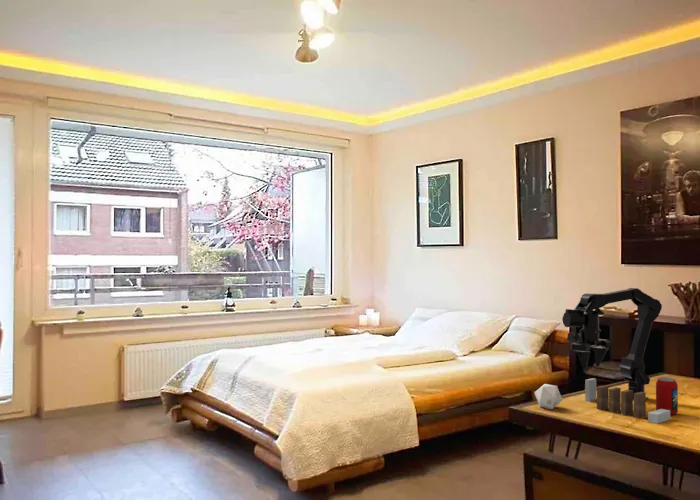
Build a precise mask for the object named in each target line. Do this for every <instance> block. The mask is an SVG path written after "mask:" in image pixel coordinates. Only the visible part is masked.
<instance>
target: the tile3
mask: <svg viewBox="0 0 700 500" xmlns="http://www.w3.org/2000/svg"><path fill="white" fill-rule="evenodd" d="M621 414H622V416H629V415H632V414H634V399H633V390H628V389H625V390H622V391H621V411H620V415H621Z"/></svg>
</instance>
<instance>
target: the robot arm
mask: <svg viewBox="0 0 700 500" xmlns="http://www.w3.org/2000/svg"><path fill="white" fill-rule="evenodd" d="M628 300H631V302H632V303H633V305H635V306H636V308H637V310H636V313H637V317H638V321H637V325H636V329H635V332H634V334H633V335H634V336H633V338H632V339H633V340H632V343H631V346H630V349H629V353H628V354H627V356H626V357H625V356H622V358H621V359H620V360H621V361H620V364H619V367H618V368H619V373H621V375H622V377H623V380H624V381H626V382H628V385H627V386H628V387H627V388H628V389H627V390H633V400H634V393H638V392H645V389H646V388H645V386H646V385H649V384H650V382H651V378H650V377H649V376H648V375H647V374H646V373H645V366H646V365H645V361H644V355H645V351H646V347H647V343H648V341H649V337H650V333H651V329H652V325H653V322H655V320H657V318H658V317H659V316H660V314H661V312H662V308H663V304H661V301H660V300H659V299H656V298H653V297H652V296H650V295H649V294H647V293H645V292H644V291H642V290H641V289H640V288H635V287H629V288H627V289H626V288H625V289H621V290H616V291H610V292H604V293H583V294H582V295H581V297H580V301H578V303H577V305H576V306H575V308H574V309H569V308H568V309H567V308H565V312H564V313H563V316H562V324H563V326H564V327H565V328H581V327H582V328H581V329H579V332H577V333H575V332H568V333H567V337H566V340H567V341H568V342H570V350H571V351H572V352H573V353H575V354H576V355H577V356H578V358H579V361H580V363H581V366H582V369H583V370H586V369H587V368H588V365H589V361H590V357H591V353H592V351H593V352H594V361H595V362H594V363H595V366H596V367H600V366H601V364H602V362H603V360H604V357H605V355H606V354H607V352H608V351H609V349H610V348H611V346H612V344H611V341H610V340H609V339H604V338H603V339H602V338H600V333H602V329H600V316H604V315H605V312H603V311H602V310H601V308H603V307H605V306H607V305H608V304H614V303H618V302H624V301H628ZM591 350H592V351H591ZM645 393H646V392H645ZM648 399H649V396H646V400H648Z"/></svg>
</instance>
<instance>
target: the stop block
mask: <svg viewBox="0 0 700 500" xmlns="http://www.w3.org/2000/svg"><path fill="white" fill-rule="evenodd" d="M647 414H648V415H647V417H648V418H647V421H648V422H649V423H653V424H656V425H657V424H660V423H664V422H667V421H669V420H671V415H670V410H665V409H659V410H656V409H655V410H652V411H649V412H647Z"/></svg>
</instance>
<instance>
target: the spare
mask: <svg viewBox="0 0 700 500" xmlns="http://www.w3.org/2000/svg"><path fill="white" fill-rule="evenodd" d="M584 381H585V385H584V387H585V389H584V390H585V391H584V392H585V393H584V400H585V402H589V401H590V402H593V400H594V401H597V378H588V379H585V380H584Z"/></svg>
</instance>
